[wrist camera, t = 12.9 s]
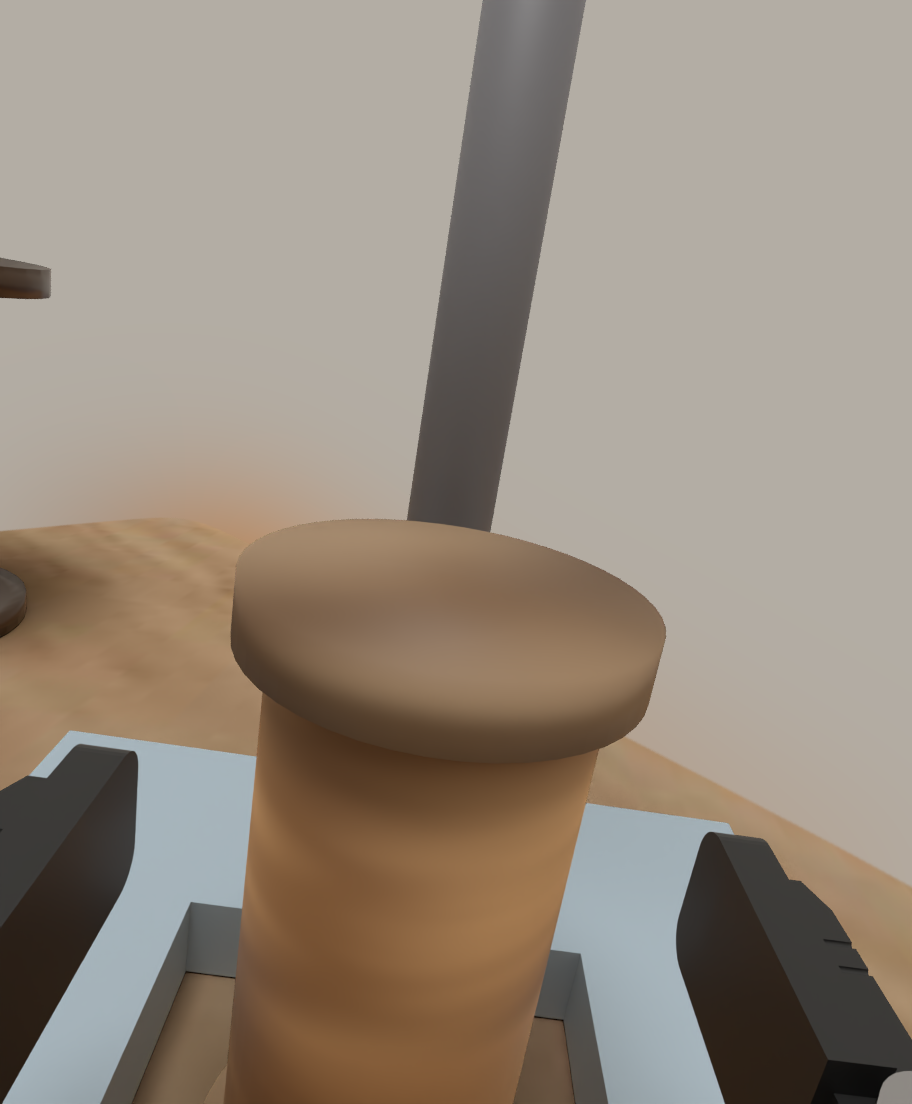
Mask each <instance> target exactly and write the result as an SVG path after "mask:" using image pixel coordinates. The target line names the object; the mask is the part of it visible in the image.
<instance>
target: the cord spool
mask: <svg viewBox="0 0 912 1104" xmlns="http://www.w3.org/2000/svg"><path fill="white" fill-rule="evenodd" d="M665 639H666V627H665V624H664V622H663V619H662V617H661V615H660V614H659V612H658V611H657V609H656V608H655V607H654V606H653V605H652V604H651V603H650V602H649V601H648V600H647V599H646V598H645V597H644V596H643V595H642V594H640V593H639V592H638V591H637V590H635V589H634V588H633V587H631V586H630V585H628V584H627V583H625V582H623V581H622V580H620V579H619V578H617V577H615V576H613V575H611V574H610V573H607V572H606V571H604V570H602V569H600V568H598V567H595V566H593V565H591V564H589V563H587V562H584V561H582V560H579V559H577V558H575V557H572V556H570V555H567V554H564V553H561V552H559V551H556V550H553V549H550V548H547V547H544V546H540V545H537V544H534V543H530V542H527V541H523V540H520V539H515V538H512V537H508V536H504V535H499V534H495V533H490V532H486V531H481V530H475V529H470V528H465V527H458V526H452V525H445V524H437V523H428V522H420V521H407V520H389V519H388V520H387V519H350V520H349V519H348V520H332V521H322V522H314V523H308V524H302V525H297V526H293V527H290V528H285V529H282V530H279V531H276V532H273V533H270V534H268V535H266V536H264V537H262V538H260V539H258V540H256V541H255V542H253V543H252V544H251V545H249V546H248V547H246V549H245V550H244V551H243V552H242V554H241V555H240V556H239V559H238V562H237V565H236V573H235V586H234V598H233V611H232V623H231V648H232V651H233V654H234V657H235V660H236V662H237V663H238V665H239V666H240V668H241V670H242V671H243V673H244V674H245V675H246V676H247V677H248V678H249V679H250V681H251V682H252V683H253V684H254V685H255V686H256V687H257V688H258V689H259V690H261V691H262V692H263V694H262V705H261V715H260V726H259V736H258V747H257V757H256V768H255V778H254V789H253V799H252V810H251V820H250V831H249V842H248V852H247V863H246V873H245V884H244V894H243V905H242V915H241V926H240V936H239V947H238V957H237V968H236V978H235V989H234V999H233V1010H232V1020H231V1031H230V1041H229V1052H228V1062H227V1065H226V1066H225V1068H224V1069H223V1070H222V1072H221V1073H220V1074H219V1076H218V1077H217V1079H216V1081H215V1082H214V1084H213V1086H212V1087H211V1089H210V1091H209V1092H208V1094H207V1097H206V1099H205V1101H204V1103H203V1104H513V1102H514V1098H515V1094H516V1090H517V1085H518V1081H519V1077H520V1073H521V1069H522V1065H523V1061H524V1057H525V1053H526V1048H527V1044H528V1040H529V1036H530V1032H531V1028H532V1024H533V1020H534V1015H535V1011H536V1007H537V1003H538V999H539V995H540V991H541V987H542V982H543V978H544V974H545V970H546V966H547V962H548V958H549V954H550V949H551V945H552V941H553V937H554V933H555V929H556V925H557V921H558V916H559V912H560V908H561V904H562V900H563V896H564V892H565V888H566V883H567V879H568V875H569V871H570V867H571V863H572V859H573V855H574V850H575V846H576V842H577V838H578V834H579V830H580V826H581V822H582V817H583V813H584V809H585V805H586V801H587V797H588V793H589V789H590V784H591V780H592V776H593V772H594V768H595V764H596V760H597V756H598V751H599V749H600V748H603V747H606V746H608V745H609V744H611V743H613V742H615V741H617V740H619V739H621V738H623V737H624V736H625V735H627V734H628V733H629V732H630V731H631V730H633V729H634V728H635V727H636V726H637V725H638V724H639V722H640V721H641V720H642V718H643V717H644V715H645V713H646V710H647V707H648V704H649V701H650V697H651V693H652V689H653V685H654V681H655V678H656V674H657V670H658V666H659V662H660V658H661V654H662V651H663V647H664V643H665Z"/></svg>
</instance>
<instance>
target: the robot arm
mask: <svg viewBox="0 0 912 1104" xmlns="http://www.w3.org/2000/svg"><path fill="white" fill-rule="evenodd" d="M137 787H138V757H137V754H136V752H135V751H130V750H123V749H115V748H108V747H101V746H93V745H86V744H77V745H76V746H74V747H73V748H72V749H71V751H70V752H69V753H68V754H67V755H66V756H65V758H64V759H63V760H62V761H61V762H60V763H59V765H58V766H57V767H56V768H55V769H54V770H53V772H52V773H51V774H50V775H49V776H48V777H47V778H43V777H36V776H26V777H24V778H22V779H21V780H19V781H17V782H15V783H14V784H12V785H10V786H8V787H6V788H5V789H3V790H1V791H0V1104H2V1103H3V1101H4V1100H5V1098H6V1096H7V1094H8V1093H9V1091H10V1089H11V1087H12V1085H13V1084H14V1082H15V1080H16V1078H17V1077H18V1075H19V1073H20V1071H21V1070H22V1068H23V1066H24V1064H25V1062H26V1061H27V1059H28V1057H29V1055H30V1054H31V1052H32V1050H33V1048H34V1047H35V1045H36V1043H37V1041H38V1040H39V1038H40V1036H41V1034H42V1032H43V1031H44V1029H45V1027H46V1025H47V1024H48V1022H49V1020H50V1018H51V1017H52V1015H53V1013H54V1011H55V1009H56V1008H57V1006H58V1004H59V1002H60V1001H61V999H62V997H63V995H64V994H65V992H66V990H67V988H68V986H69V985H70V983H71V981H72V979H73V978H74V976H75V974H76V972H77V971H78V969H79V967H80V965H81V964H82V962H83V960H84V958H85V956H86V955H87V953H88V951H89V949H90V948H91V946H92V944H93V942H94V941H95V939H96V937H97V935H98V933H99V932H100V930H101V928H102V926H103V925H104V923H105V921H106V919H107V918H108V916H109V914H110V912H111V910H112V909H113V907H114V905H115V903H116V902H117V900H118V898H119V896H120V894H121V892H122V890H123V888H124V886H125V883H126V881H127V878H128V875H129V872H130V868H131V864H132V860H133V855H134V848H135V833H136V810H137ZM851 943H852V942H851V941H850V939H849V937H848V936H847V934H846V933H845V931H844V929H843V928H842V926H841V924H840V923H839V921H838V920H837V918H836V916H835V915H834V913H833V911H832V910H831V909H830V908H829V907H828V906H827V905H825V904H824V903H823V902H822V901H821V900H820V899H819V898H818V897H817V896H816V895H815V894H814V893H813V892H812V891H810V890H809V889H808V888H807V887H806V886H805V885H804V884H803V883H802V882H801V881H795V880H789V879H788V877H787V876H786V874H785V872H784V870H783V869H782V867H781V865H780V864H779V862H778V860H777V858H776V857H775V855H774V853H773V851H772V850H771V848H770V846H769V845H768V843H767V842H766V841H765V840H763V839H761V838H754V837H747V836H739V835H732V834H725V833H717V832H708V833H707V834H706V835H705V836H704V837H703V839H702V841H701V844H700V847H699V850H698V853H697V857H696V860H695V863H694V867H693V870H692V873H691V877H690V880H689V883H688V887H687V890H686V894H685V897H684V900H683V904H682V907H681V910H680V914H679V917H678V922H677V929H676V953H677V960H678V965H679V968H680V971H681V974H682V977H683V980H684V983H685V986H686V989H687V992H688V995H689V998H690V1001H691V1004H692V1007H693V1010H694V1013H695V1016H696V1019H697V1022H698V1025H699V1028H700V1031H701V1034H702V1037H703V1040H704V1043H705V1046H706V1049H707V1052H708V1055H709V1058H710V1061H711V1064H712V1067H713V1070H714V1073H715V1076H716V1079H717V1082H718V1085H719V1088H720V1091H721V1094H722V1097H723V1100H724V1103H725V1104H912V1039H911V1038H910V1036H909V1035H908V1033H907V1031H906V1030H905V1028H904V1026H903V1025H902V1023H901V1022H900V1020H899V1018H898V1017H897V1015H896V1013H895V1012H894V1010H893V1009H892V1007H891V1005H890V1004H889V1002H888V1001H887V999H886V997H885V996H884V994H883V992H882V991H881V989H880V988H879V986H878V984H877V983H876V981H875V979H874V978H873V976H869V975H868V968H867V967H866V965H865V963H864V962H863V960H862V958H861V957H860V955H859V954H858V952H857V950H856V949H852V946H851Z"/></svg>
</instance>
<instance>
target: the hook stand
mask: <svg viewBox="0 0 912 1104" xmlns="http://www.w3.org/2000/svg"><path fill="white" fill-rule="evenodd" d="M585 2H586V0H483V3H482V10H481V17H480V23H479V30H478V37H477V44H476V52H475V58H474V65H473V71H472V78H471V85H470V92H469V99H468V105H467V112H466V120H465V126H464V133H463V140H462V147H461V153H460V161H459V168H458V174H457V182H456V188H455V195H454V201H453V208H452V215H451V222H450V229H449V236H448V243H447V250H446V256H445V263H444V270H443V277H442V284H441V290H440V297H439V304H438V311H437V318H436V326H435V332H434V339H433V345H432V352H431V359H430V366H429V373H428V380H427V387H426V394H425V400H424V407H423V414H422V421H421V427H420V434H419V441H418V448H417V455H416V462H415V469H414V475H413V482H412V489H411V496H410V503H409V510H408V517H407V521H420V522H428V523H437V524H445V525H452V526H458V527H465V528H470V529H475V530H481V531H486V532H490V530H491V524H492V518H493V514H494V507H495V502H496V497H497V491H498V485H499V480H500V474H501V469H502V463H503V458H504V452H505V446H506V441H507V436H508V430H509V424H510V419H511V413H512V407H513V402H514V397H515V391H516V386H517V380H518V374H519V369H520V362H521V358H522V352H523V346H524V341H525V336H526V330H527V324H528V319H529V313H530V307H531V301H532V297H533V291H534V285H535V279H536V274H537V268H538V263H539V258H540V252H541V246H542V240H543V235H544V230H545V224H546V219H547V213H548V208H549V202H550V196H551V190H552V185H553V180H554V174H555V169H556V163H557V157H558V152H559V146H560V141H561V135H562V130H563V124H564V118H565V113H566V107H567V102H568V96H569V91H570V85H571V79H572V73H573V68H574V63H575V57H576V52H577V46H578V41H579V35H580V29H581V24H582V18H583V12H584V7H585ZM77 744H86V745H93V746H101V747H108V748H115V749H123V750H130V751H135V752H136V754H137V757H138V787H137V810H136V833H135V848H134V855H133V860H132V864H131V868H130V872H129V875H128V878H127V881H126V883H125V886H124V888H123V890H122V892H121V894H120V896H119V898H118V900H117V902H116V903H115V905H114V907H113V909H112V910H111V912H110V914H109V916H108V918H107V919H106V921H105V923H104V925H103V926H102V928H101V930H100V932H99V933H98V935H97V937H96V939H95V941H94V942H93V944H92V946H91V948H90V949H89V951H88V953H87V955H86V956H85V958H84V960H83V962H82V964H81V965H80V967H79V969H78V971H77V972H76V974H75V976H74V978H73V979H72V981H71V983H70V985H69V986H68V988H67V990H66V992H65V994H64V995H63V997H62V999H61V1001H60V1002H59V1004H58V1006H57V1008H56V1009H55V1011H54V1013H53V1015H52V1017H51V1018H50V1020H49V1022H48V1024H47V1025H46V1027H45V1029H44V1031H43V1032H42V1034H41V1036H40V1038H39V1040H38V1041H37V1043H36V1045H35V1047H34V1048H33V1050H32V1052H31V1054H30V1055H29V1057H28V1059H27V1061H26V1062H25V1064H24V1066H23V1068H22V1070H21V1071H20V1073H19V1075H18V1077H17V1078H16V1080H15V1082H14V1084H13V1085H12V1087H11V1089H10V1091H9V1093H8V1094H7V1096H6V1098H5V1100H4V1101H3V1103H2V1104H132V1101H133V1099H134V1096H135V1094H136V1091H137V1089H138V1087H139V1084H140V1082H141V1079H142V1077H143V1074H144V1072H145V1069H146V1067H147V1065H148V1062H149V1060H150V1057H151V1055H152V1052H153V1050H154V1048H155V1045H156V1043H157V1040H158V1038H159V1035H160V1033H161V1030H162V1028H163V1026H164V1023H165V1021H166V1018H167V1016H168V1013H169V1011H170V1008H171V1006H172V1004H173V1001H174V999H175V996H176V994H177V991H178V989H179V986H180V984H181V982H182V979H183V977H184V974H185V972H186V971H189V972H197V973H205V974H213V975H220V976H228V977H236V968H237V957H238V947H239V936H240V926H241V915H242V905H243V894H244V884H245V873H246V863H247V852H248V842H249V831H250V820H251V810H252V799H253V789H254V778H255V768H256V757H255V756H248V755H241V754H234V753H226V752H219V751H212V750H205V749H198V748H191V747H184V746H177V745H170V744H163V743H156V742H148V741H141V740H134V739H127V738H120V737H113V736H106V735H99V734H92V733H85V732H78V731H69V732H68V733H67V734H66V735H65V737H64V738H63V739H62V740H61V741H60V742H59V743H58V744H57V745H56V746H55V748H54V749H53V750H52V751H51V752H50V753H49V754H48V755H47V756H46V757H45V759H44V760H43V761H42V762H41V763H40V764H39V765H38V766H37V767H36V768H35V770H34V771H33V772H32V773H31V774H30V775H29V776H36V777H43V778H47V777H48V776H49V775H50V774H51V773H52V772H53V770H54V769H55V768H56V767H57V766H58V765H59V763H60V762H61V761H62V760H63V759H64V758H65V756H66V755H67V754H68V753H69V752H70V751H71V749H72V748H73V747H74V746H76V745H77ZM708 832H717V833H725V834H732V835H734V833H733V831H732V829H731V827H730V825H729V824H728V823H723V822H716V821H709V820H702V819H695V818H688V817H680V816H673V815H666V814H659V813H652V812H645V811H638V810H631V809H624V808H617V807H610V806H602V805H595V804H588V803H586V805H585V809H584V813H583V817H582V822H581V826H580V830H579V834H578V838H577V842H576V846H575V850H574V855H573V859H572V863H571V867H570V871H569V875H568V879H567V883H566V888H565V892H564V896H563V900H562V904H561V908H560V912H559V916H558V921H557V925H556V929H555V933H554V937H553V941H552V945H551V949H550V954H549V958H548V962H547V966H546V970H545V974H544V978H543V982H542V987H541V991H540V995H539V999H538V1003H537V1007H536V1011H535V1015H534V1016H538V1017H546V1018H554V1019H562V1020H564V1027H565V1034H566V1041H567V1047H568V1054H569V1061H570V1068H571V1075H572V1082H573V1089H574V1096H575V1103H576V1104H725V1103H724V1100H723V1097H722V1094H721V1091H720V1088H719V1085H718V1082H717V1079H716V1076H715V1073H714V1070H713V1067H712V1064H711V1061H710V1058H709V1055H708V1052H707V1049H706V1046H705V1043H704V1040H703V1037H702V1034H701V1031H700V1028H699V1025H698V1022H697V1019H696V1016H695V1013H694V1010H693V1007H692V1004H691V1001H690V998H689V995H688V992H687V989H686V986H685V983H684V980H683V977H682V974H681V971H680V968H679V965H678V960H677V953H676V929H677V922H678V917H679V914H680V910H681V907H682V904H683V900H684V897H685V894H686V890H687V887H688V883H689V880H690V877H691V873H692V870H693V867H694V863H695V860H696V857H697V853H698V850H699V847H700V844H701V841H702V839H703V837H704V836H705V835H706V834H707V833H708Z"/></svg>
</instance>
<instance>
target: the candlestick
mask: <svg viewBox="0 0 912 1104" xmlns="http://www.w3.org/2000/svg"><path fill="white" fill-rule="evenodd" d="M50 296H51V269H49V268H47V267H43V266H39V265H35V264H30V263H25V262H20V261H15V260H9V259H4V258H0V298H17V299H43V298H49V297H50ZM25 612H26V588H25V585H24V583H23V582H22V581H21V580H20V579H19V578H18V577H17V576H16V575H14V574H13V573H11V572H9V571H7V570H5V569H2V568H0V637H2V636H4V635H5V634H7V633H9V632H10V631H11V630H13V629H14V628H15V627H17V626H18V625H19V623H20V622H21V621H22V619H23V618H24V617H25Z"/></svg>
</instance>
